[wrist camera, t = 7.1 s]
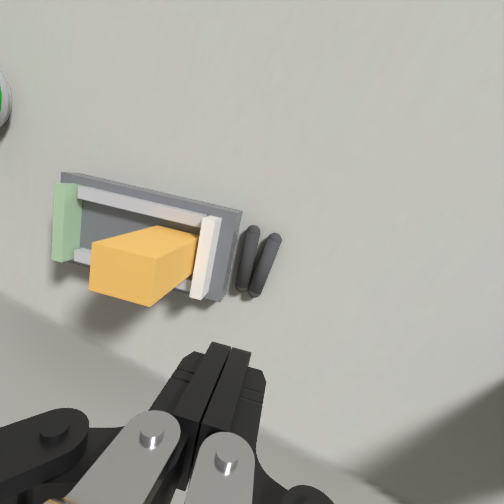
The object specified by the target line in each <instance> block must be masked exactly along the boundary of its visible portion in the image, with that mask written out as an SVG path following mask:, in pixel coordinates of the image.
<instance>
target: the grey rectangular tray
mask: <svg viewBox="0 0 504 504" xmlns="http://www.w3.org/2000/svg"><path fill="white" fill-rule="evenodd" d="M241 216H242V211H240V210H235V209H231V208H227V207H222V206H218V205H214V204H209V203H205V202H201V201H196V200H192V199H188V198H183V197H179V196H175V195H170V194H166V193H162V192H157V191H153V190H149V189H144V188H140V187H136V186H131V185H127V184H123V183H118V182H114V181H110V180H105V179H101V178H97V177H92V176H88V175H84V174H79V173H68V172H61V183H54V202H53V228H52V254H51V260H54V261H57V262H61V263H62V262H65V261H68V262H71V263H75V264H79V265H83V266H86V267H90V263H91V249H92V242H96V241H100V240H103V239H107V238H111V237H115V236H119V235H123V234H126V233H130V232H134V231H138V230H142V229H145V228H149V227H153V226H157V225H159V226H163V227H167V228H171V229H175V230H179V231H183V232H187V233H191V234H195V235H199V242H198V248H197V254H196V260H195V266H194V272H193V273H192V274H191V275H190V276H188V277H187V278H186V279H185V280H183V281H182V282H181V283H180V284H178V285H177V286H176V287H175V288H173V289H172V290H176V291H179V292H183V293H187V294H190V296H189V297H191V298H194V299H198V300H202V298H205V299H209V300H213V301H217V302H221V300H222V299H223V297H224V296H225V295H226V290H227V285H228V280H229V275H230V270H231V265H232V261H233V256H234V251H235V246H236V241H237V236H238V231H239V226H240V221H241Z"/></svg>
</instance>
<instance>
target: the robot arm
mask: <svg viewBox="0 0 504 504" xmlns="http://www.w3.org/2000/svg"><path fill="white" fill-rule="evenodd" d="M250 357H251V352H248V351H244V350H241V349H237V348H234V347H232V350H231V347H230V346H226V345H223V344H219V343H216V342H212V343H211V344H210V346H209V348H208V350H207V352H206V353H205V354H202V353H199V352H195V351H194V352H192V353H191V354H189V355H187V356H186V357H184V358H183V359H182V361H181V362H180V364H179V365H178V367H177V369H176V370H175V371H174V373H173V374H172V376H171V378H170V379H169V380H168V382H167V383H166V385H165V386H164V388H163V389H162V391H161V393H160V394H159V395H158V397H157V398H156V400H155V401H154V403H153V405H152V406H151V407H150V409H149V410H148V411H147V412H143V413H141V414H138V415H136V416H135V417H134V418H132V419H131V420H130V421H129V422H128V423H127V424H126V425H125V426H123V427H117V428H89V420H88V418H87V416H86V415H85V414H84V413H83V412H81V411H79V410H77V409H72V408H60V409H54V410H51V411H48V412H45V413H42V414H39V415H36V416H33V417H30V418H27V419H24V420H21V421H18V422H15V423H12V424H10V425H7V426H4V427H1V428H0V504H170V502H171V500H172V498H173V494H174V492H175V490H176V488H177V489H180V490H183V491H185V490H186V487H187V484H188V482H189V479H190V482H189V487H188V491H187V495H186V498H185V502H184V504H334V503H333V502H332V501H331V500H330V499H329V498H328V497H327V496H326V495H325V494H324V493H322V492H321V491H320V490H318V489H316V488H314V487H311V486H306V485H299V486H295V487H292V488H291V489H289V490H287V489H285V488H284V487H282V486H281V485H280V484H278V483H277V482H275V481H274V480H273V479H272V478H270V477H269V476H268V475H267V474H266V472H265V471H264V470H263V469H262V467H261V465H260V463H259V461H258V458H257V454H256V441H257V435H258V429H259V423H260V417H261V410H262V404H263V398H264V392H265V386H266V380H265V378H264V375H263V372H262V371H261V370H258V369H254V368H251V367H248V365H249V361H250ZM190 476H191V477H190Z"/></svg>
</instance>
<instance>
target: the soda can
mask: <svg viewBox="0 0 504 504" xmlns="http://www.w3.org/2000/svg"><path fill="white" fill-rule="evenodd" d="M11 109H12V96H11V90H10V87H9V85H8V82H7V80H6V78H5V77H4V76H3V73H2V71H1V69H0V127H1V126H3V124H4V123H5V122H6V121H7V120H8V118H9V115H10V113H11Z"/></svg>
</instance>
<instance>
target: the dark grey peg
mask: <svg viewBox="0 0 504 504" xmlns="http://www.w3.org/2000/svg"><path fill="white" fill-rule="evenodd" d="M259 236H260V229H259V228H258V227H257V226H255V225H252V226H249V227H248V229H247V231H246V236H245V240H244V245H243V250H242V255H241V260H240V264H239V269H238V274H237V279H236V284H235V287H236V289H237V291H239V292H245V291H246V290H247V289H248V286H249V282H250V277H251V272H252V268H253V263H254V259H255V254H256V250H257V245H258V241H259Z"/></svg>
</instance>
